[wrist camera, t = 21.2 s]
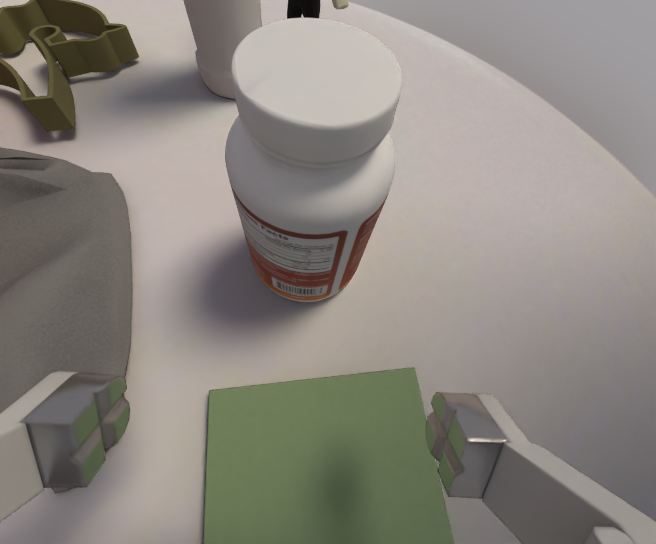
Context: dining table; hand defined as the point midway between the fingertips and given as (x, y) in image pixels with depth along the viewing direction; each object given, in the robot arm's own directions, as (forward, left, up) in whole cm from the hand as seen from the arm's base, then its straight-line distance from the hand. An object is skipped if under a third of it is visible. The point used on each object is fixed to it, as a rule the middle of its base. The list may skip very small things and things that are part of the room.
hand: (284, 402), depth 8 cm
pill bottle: (-2, -8, -7) cm, 11 cm away
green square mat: (-2, +4, -7) cm, 8 cm away
